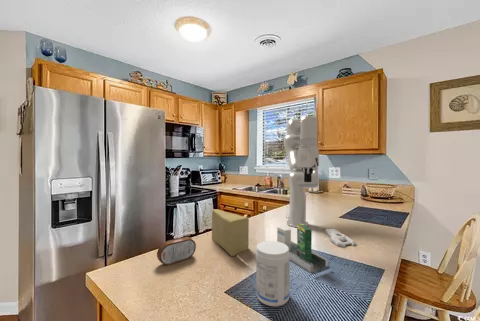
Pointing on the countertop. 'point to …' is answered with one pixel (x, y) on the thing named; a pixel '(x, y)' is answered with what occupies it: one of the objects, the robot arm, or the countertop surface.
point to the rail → (315, 264)
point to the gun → (339, 238)
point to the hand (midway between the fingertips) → (307, 181)
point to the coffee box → (304, 242)
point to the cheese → (230, 231)
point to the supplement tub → (272, 273)
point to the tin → (176, 250)
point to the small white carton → (284, 236)
